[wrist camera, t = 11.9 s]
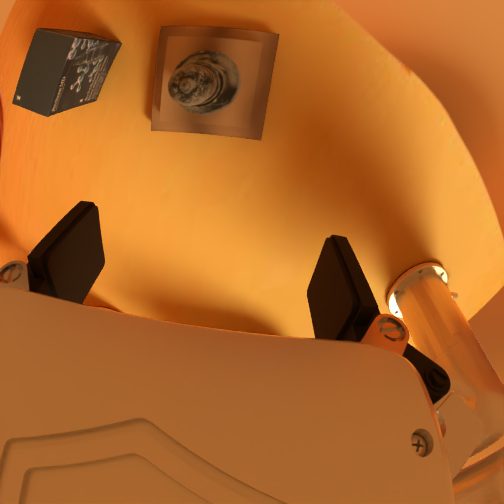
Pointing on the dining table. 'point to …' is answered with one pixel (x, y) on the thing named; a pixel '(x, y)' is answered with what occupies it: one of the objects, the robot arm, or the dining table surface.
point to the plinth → (251, 73)
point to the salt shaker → (205, 82)
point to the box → (63, 70)
